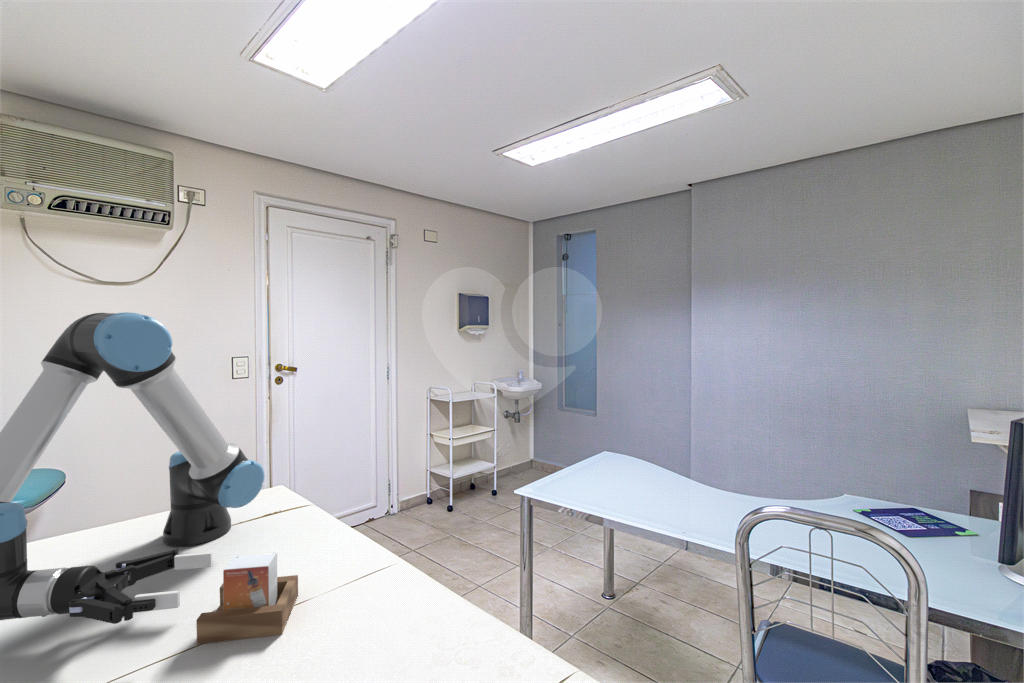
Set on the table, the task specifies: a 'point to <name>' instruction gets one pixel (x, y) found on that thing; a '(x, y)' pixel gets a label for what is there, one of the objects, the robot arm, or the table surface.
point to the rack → (249, 617)
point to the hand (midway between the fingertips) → (196, 577)
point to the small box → (250, 581)
